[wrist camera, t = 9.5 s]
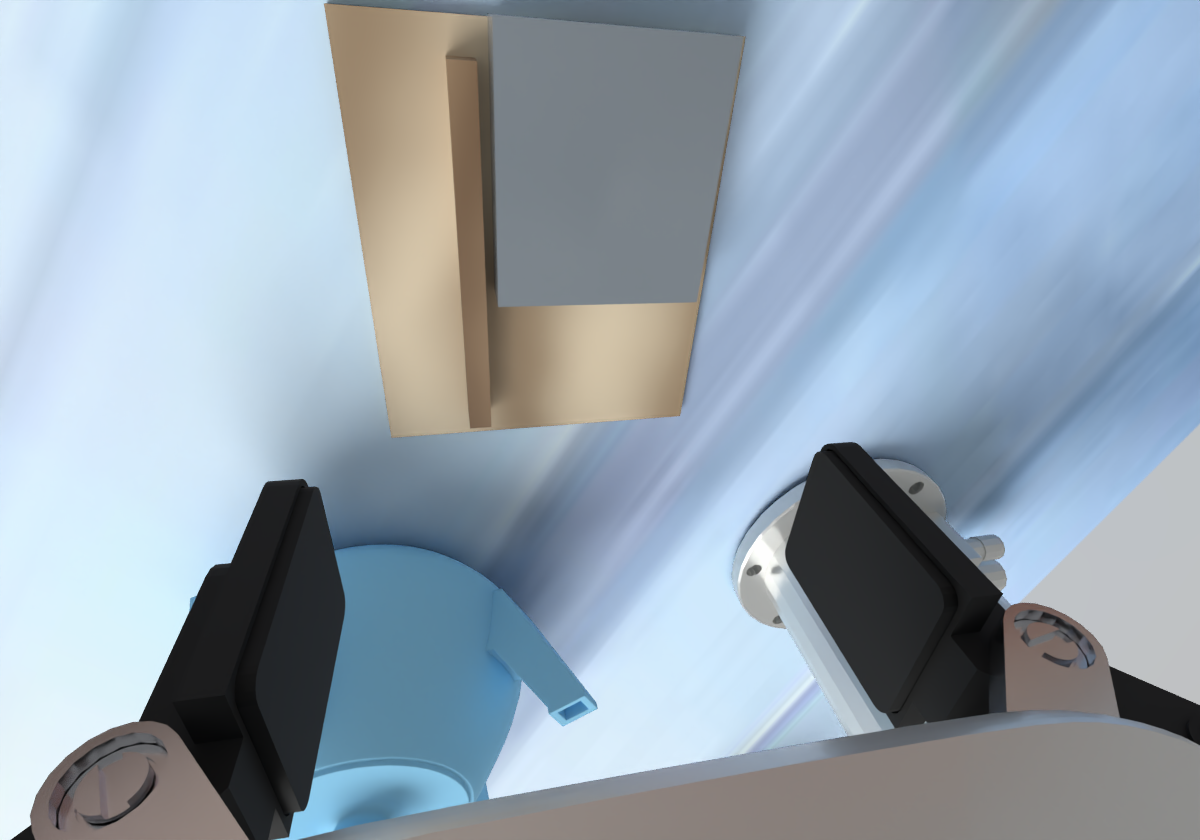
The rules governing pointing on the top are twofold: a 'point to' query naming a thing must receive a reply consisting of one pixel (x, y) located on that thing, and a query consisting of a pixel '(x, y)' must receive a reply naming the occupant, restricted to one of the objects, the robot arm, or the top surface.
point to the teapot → (424, 688)
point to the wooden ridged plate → (473, 251)
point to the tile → (604, 158)
